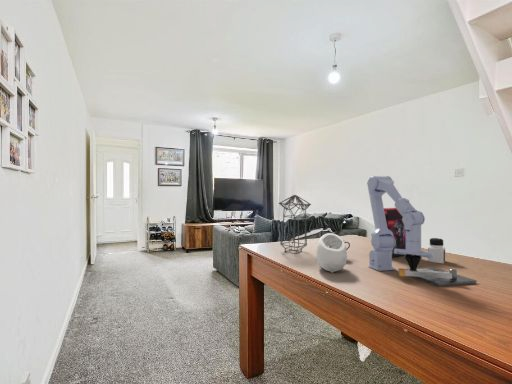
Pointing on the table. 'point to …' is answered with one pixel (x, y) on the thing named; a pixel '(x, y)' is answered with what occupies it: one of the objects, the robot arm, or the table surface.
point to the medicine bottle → (437, 250)
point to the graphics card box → (396, 228)
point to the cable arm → (429, 273)
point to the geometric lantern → (294, 222)
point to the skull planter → (331, 252)
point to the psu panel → (444, 279)
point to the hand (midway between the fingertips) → (413, 273)
